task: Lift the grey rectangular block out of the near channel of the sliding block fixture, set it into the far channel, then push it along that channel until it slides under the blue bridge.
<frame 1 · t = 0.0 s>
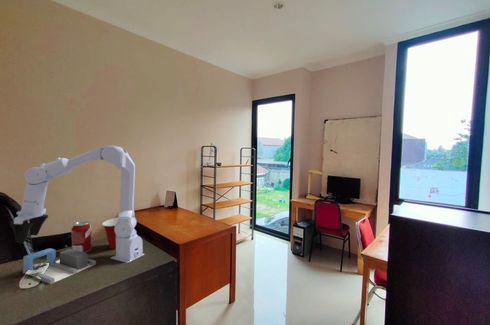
hand: (27, 238, 81), 11 cm above the table, tool pointing down, fingers open, 7 cm apart
plastic cup: (116, 247, 100), on the table
soda can: (82, 252, 95), on the table
sliding block fixture: (60, 269, 80), on the table
grey rectangular block: (73, 265, 82), resting on sliding block fixture
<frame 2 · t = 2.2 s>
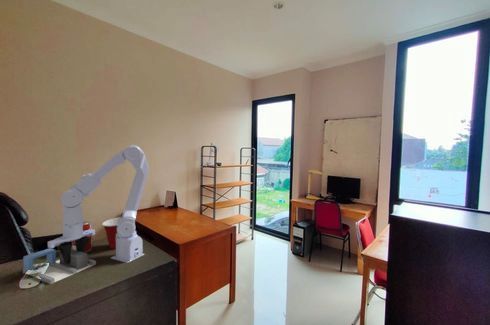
hand: (73, 260, 82), 2 cm above the table, tool pointing down, fingers closed on grey rectangular block, 3 cm apart
grey rectangular block: (73, 265, 82), resting on sliding block fixture, touching gripper
everything else where it was.
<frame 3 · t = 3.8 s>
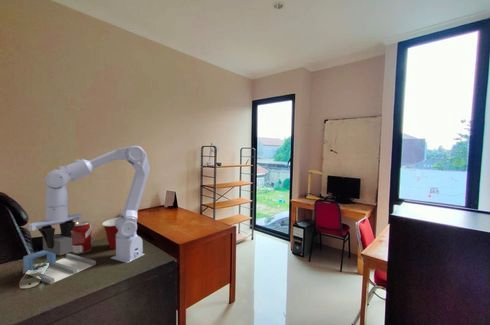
hand: (57, 245, 77), 10 cm above the table, tool pointing down, fingers closed on grey rectangular block, 3 cm apart
grey rectangular block: (57, 250, 77), point 8 cm above the table, touching gripper
everything else where it was.
when the fingers open (3 cm above the table, at t = 5.5 s): grey rectangular block stays where it is, resting on sliding block fixture.
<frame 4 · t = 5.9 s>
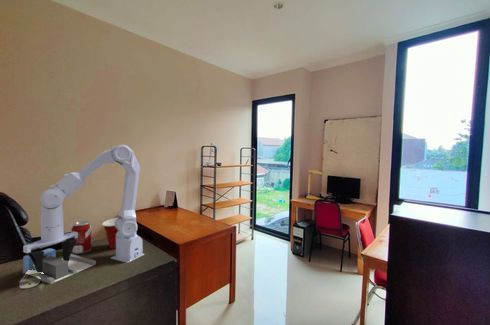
hand: (53, 266, 76), 3 cm above the table, tool pointing down, fingers open, 7 cm apart
grey rectangular block: (53, 273, 76), resting on sliding block fixture
everything else where it was.
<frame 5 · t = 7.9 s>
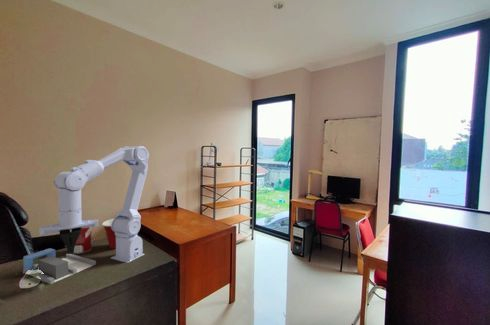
hand: (71, 252, 72), 9 cm above the table, tool pointing down, fingers closed
nothing on the table moved.
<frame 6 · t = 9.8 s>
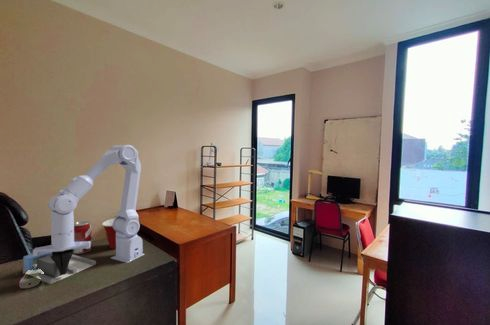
hand: (63, 273, 74), 2 cm above the table, tool pointing down, fingers closed
grey rectangular block: (51, 272, 77), point 1 cm above the table
everything else where it was.
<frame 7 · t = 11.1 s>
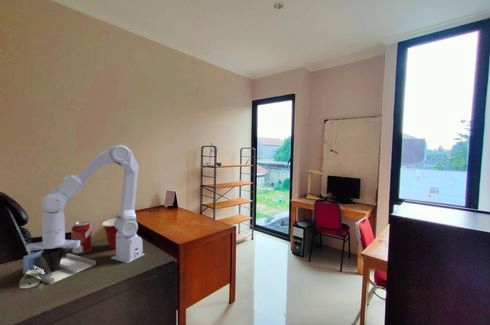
hand: (54, 270, 76), 2 cm above the table, tool pointing down, fingers closed
grey rectangular block: (45, 269, 80), resting on sliding block fixture, touching gripper
everything else where it was.
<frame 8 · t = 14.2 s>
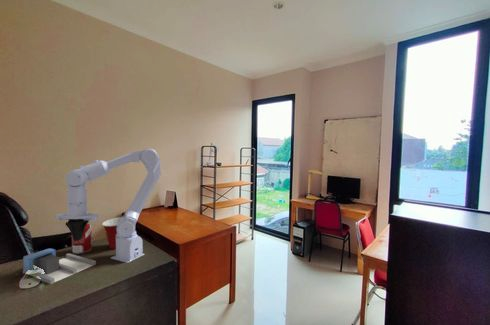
hand: (77, 239, 83), 9 cm above the table, tool pointing down, fingers closed
grey rectangular block: (45, 269, 80), resting on sliding block fixture
everything else where it was.
at the end: grey rectangular block 1.1 cm from the target spot, point 0.5 cm above the table; grey rectangular block tilted 0°; the gripper is holding nothing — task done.
